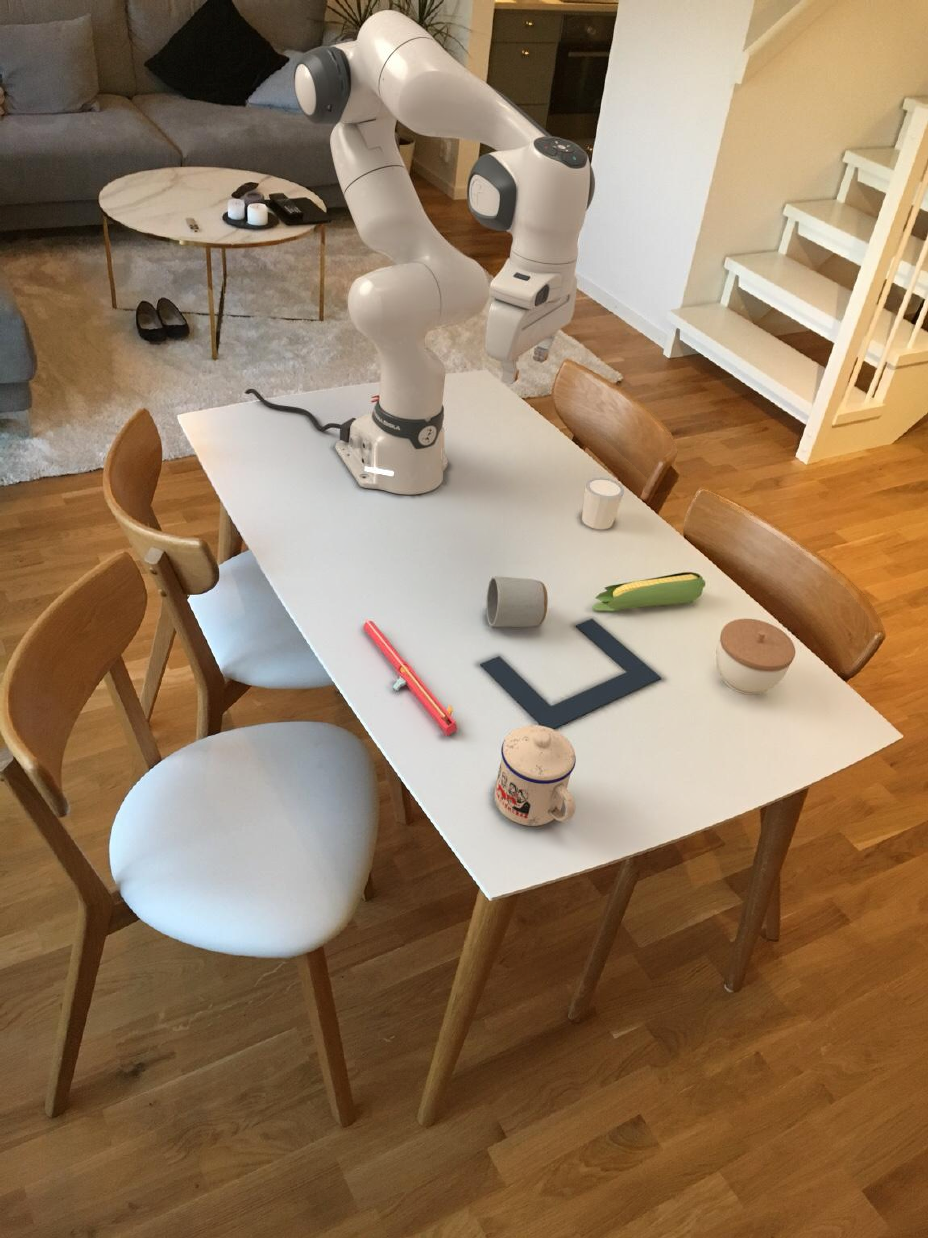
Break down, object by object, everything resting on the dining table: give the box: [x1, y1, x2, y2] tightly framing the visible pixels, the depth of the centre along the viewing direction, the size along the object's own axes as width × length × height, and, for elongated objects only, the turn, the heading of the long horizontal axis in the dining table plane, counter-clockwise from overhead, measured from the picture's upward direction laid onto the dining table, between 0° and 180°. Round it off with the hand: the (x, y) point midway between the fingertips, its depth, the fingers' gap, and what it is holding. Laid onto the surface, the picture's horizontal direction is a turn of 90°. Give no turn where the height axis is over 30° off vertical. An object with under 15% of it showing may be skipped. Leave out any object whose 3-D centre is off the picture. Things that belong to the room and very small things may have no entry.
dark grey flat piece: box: [479, 618, 662, 730], centre depth 146 cm, size 16×22×1 cm
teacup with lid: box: [494, 724, 577, 827], centre depth 122 cm, size 12×9×12 cm
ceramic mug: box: [486, 575, 549, 628], centre depth 153 cm, size 11×8×8 cm
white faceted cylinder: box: [581, 477, 625, 530], centre depth 177 cm, size 7×7×7 cm
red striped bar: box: [363, 618, 458, 737], centre depth 140 cm, size 24×2×5 cm
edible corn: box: [591, 571, 706, 611], centre depth 160 cm, size 5×20×5 cm, turn 110°
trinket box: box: [715, 618, 796, 696], centre depth 146 cm, size 11×11×9 cm
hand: (525, 370), depth 141 cm, fingers open, 8 cm apart
